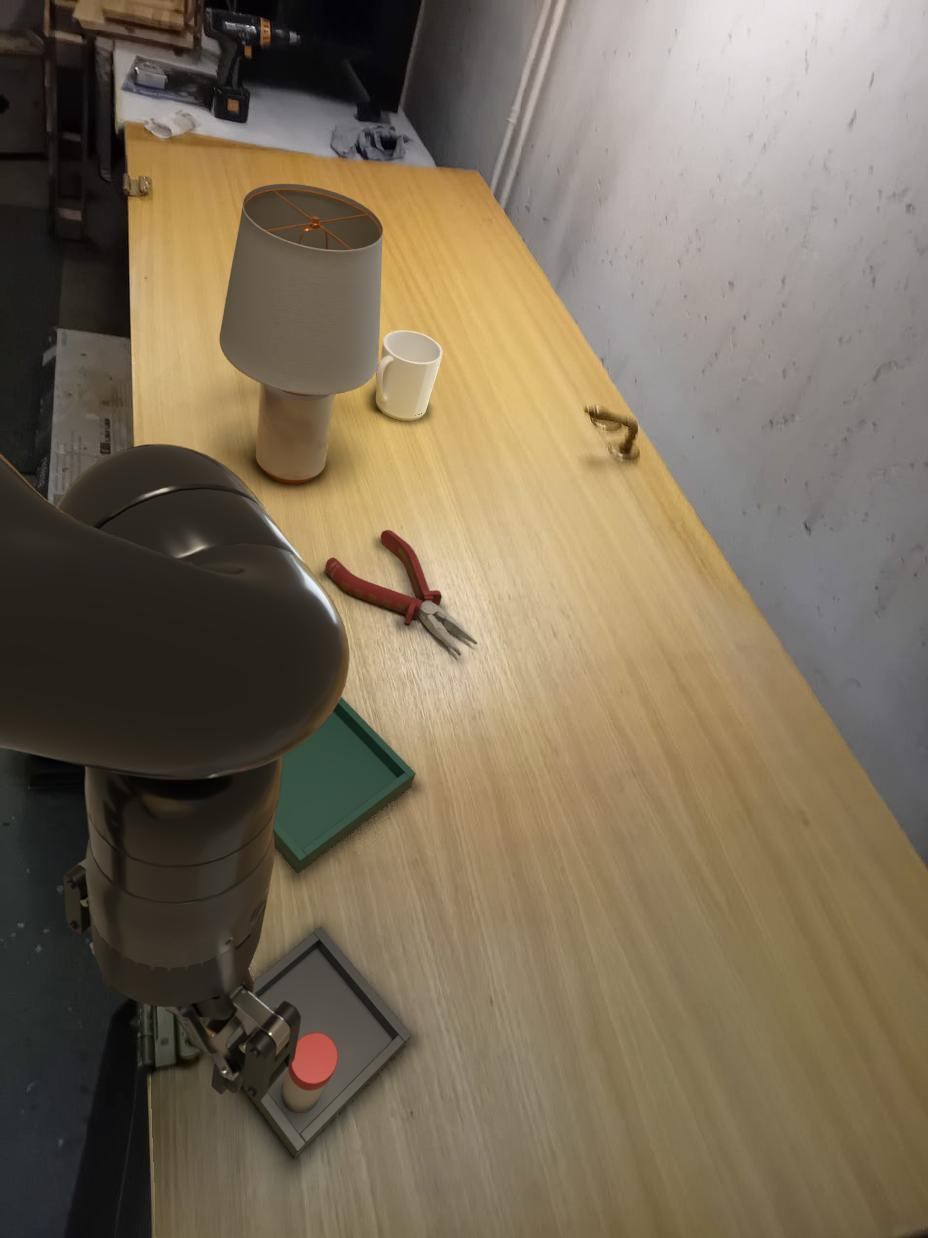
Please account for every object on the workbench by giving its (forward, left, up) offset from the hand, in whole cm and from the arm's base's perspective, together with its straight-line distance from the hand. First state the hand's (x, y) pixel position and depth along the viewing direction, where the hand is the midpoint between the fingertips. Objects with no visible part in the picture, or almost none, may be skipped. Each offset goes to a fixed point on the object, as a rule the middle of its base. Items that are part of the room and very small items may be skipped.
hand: (175, 1024), depth 46 cm
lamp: (+53, +56, -21) cm, 80 cm away
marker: (+7, -5, -20) cm, 22 cm away
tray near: (+10, -3, -21) cm, 23 cm away
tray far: (+25, +16, -21) cm, 36 cm away
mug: (+76, +59, -21) cm, 98 cm away
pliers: (+48, +29, -21) cm, 60 cm away
